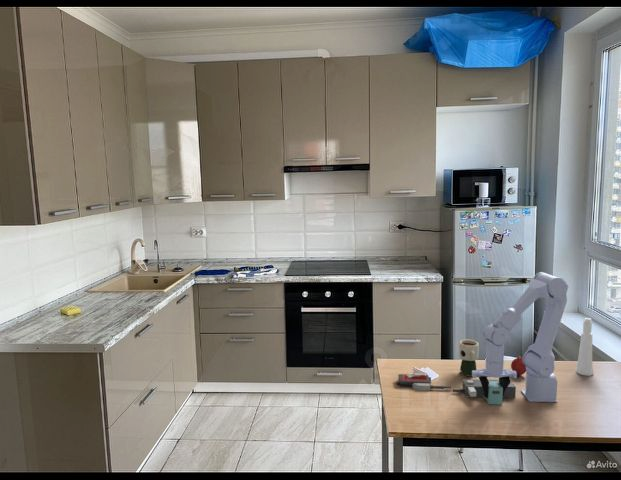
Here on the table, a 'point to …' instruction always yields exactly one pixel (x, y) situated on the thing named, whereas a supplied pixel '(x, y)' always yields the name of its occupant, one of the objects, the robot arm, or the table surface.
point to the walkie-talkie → (417, 381)
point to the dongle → (472, 391)
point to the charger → (494, 393)
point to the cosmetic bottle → (585, 350)
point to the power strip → (478, 387)
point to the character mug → (468, 356)
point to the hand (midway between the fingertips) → (493, 396)
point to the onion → (518, 366)
